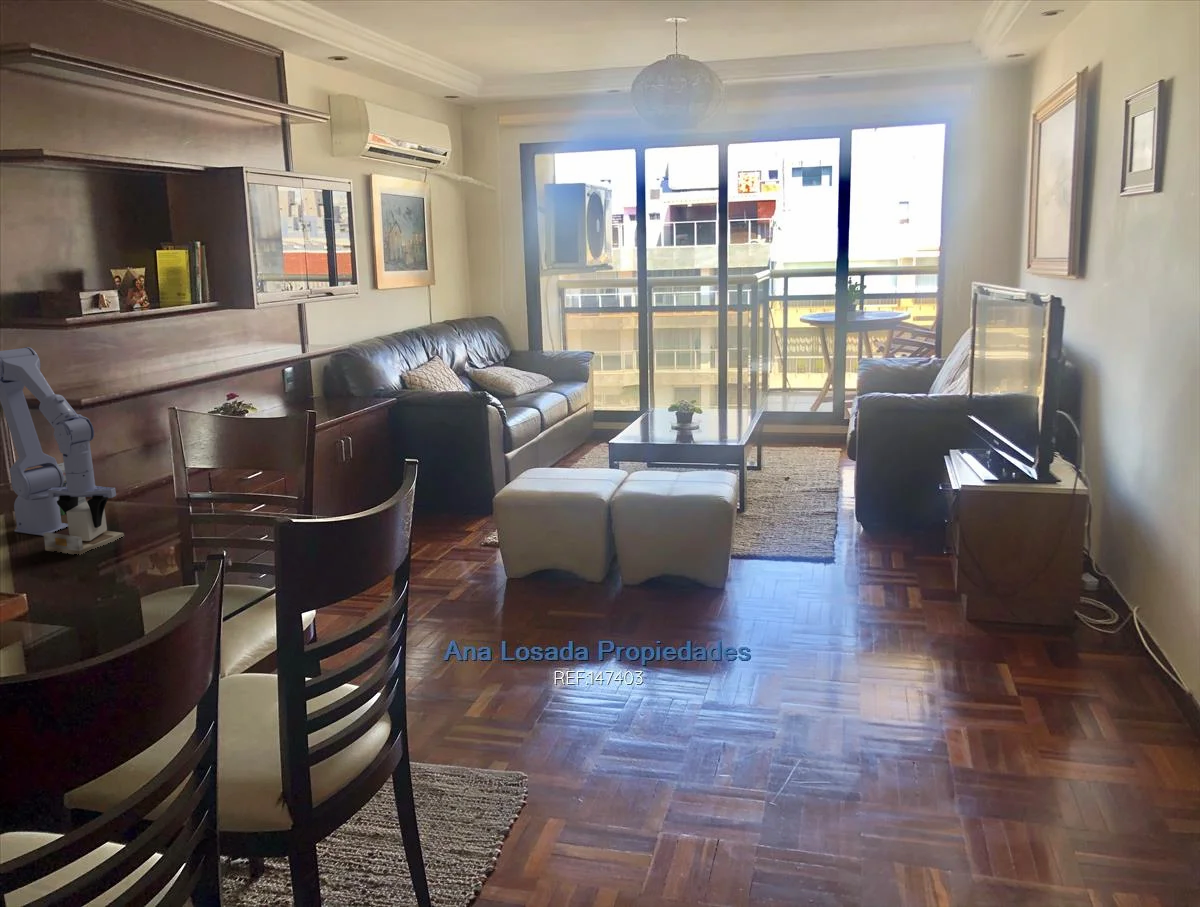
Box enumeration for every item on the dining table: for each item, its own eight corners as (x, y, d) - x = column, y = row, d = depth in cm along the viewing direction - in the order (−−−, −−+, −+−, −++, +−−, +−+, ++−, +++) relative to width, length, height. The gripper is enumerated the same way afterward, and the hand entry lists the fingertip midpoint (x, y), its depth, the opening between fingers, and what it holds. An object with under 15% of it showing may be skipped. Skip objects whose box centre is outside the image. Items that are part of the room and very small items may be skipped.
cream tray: (45, 550, 215) (42, 533, 214) (91, 532, 227) (88, 516, 226) (79, 555, 212) (77, 538, 211) (124, 536, 224) (122, 521, 223)
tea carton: (69, 540, 217) (65, 511, 215) (87, 529, 224) (83, 501, 223) (89, 540, 217) (86, 511, 215) (107, 529, 224) (103, 501, 223)
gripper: (119, 466, 220) (126, 520, 224) (57, 465, 220) (64, 520, 224) (104, 474, 213) (111, 530, 217) (40, 473, 213) (48, 530, 217)
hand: (86, 526), depth 220 cm, fingers closed on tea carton, 4 cm apart
